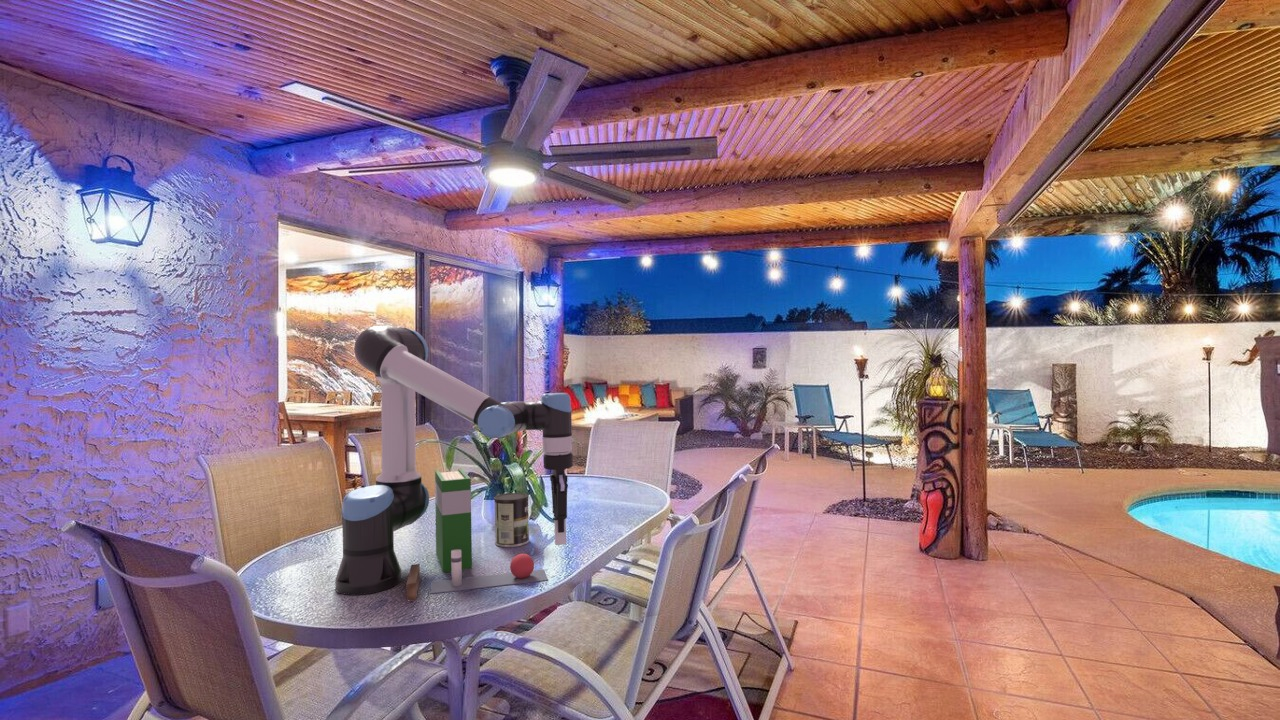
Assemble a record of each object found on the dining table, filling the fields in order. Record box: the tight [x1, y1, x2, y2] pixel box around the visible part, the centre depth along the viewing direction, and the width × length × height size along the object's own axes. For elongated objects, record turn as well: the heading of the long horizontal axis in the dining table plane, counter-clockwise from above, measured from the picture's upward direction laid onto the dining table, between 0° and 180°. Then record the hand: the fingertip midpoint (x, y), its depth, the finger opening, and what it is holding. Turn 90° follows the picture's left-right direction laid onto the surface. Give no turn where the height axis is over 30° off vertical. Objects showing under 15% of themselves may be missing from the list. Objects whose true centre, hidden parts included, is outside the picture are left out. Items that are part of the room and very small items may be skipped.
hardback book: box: [434, 468, 473, 573], centre depth 170 cm, size 18×7×24 cm, turn 24°
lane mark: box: [430, 569, 549, 595], centre depth 153 cm, size 28×8×1 cm, turn 106°
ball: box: [509, 553, 535, 579], centre depth 155 cm, size 6×6×6 cm
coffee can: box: [493, 492, 530, 548], centre depth 186 cm, size 10×10×14 cm
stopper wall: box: [406, 563, 421, 602], centre depth 148 cm, size 2×14×4 cm, turn 16°
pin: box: [450, 549, 463, 586], centre depth 151 cm, size 2×2×8 cm
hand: (560, 543), depth 158 cm, fingers closed
